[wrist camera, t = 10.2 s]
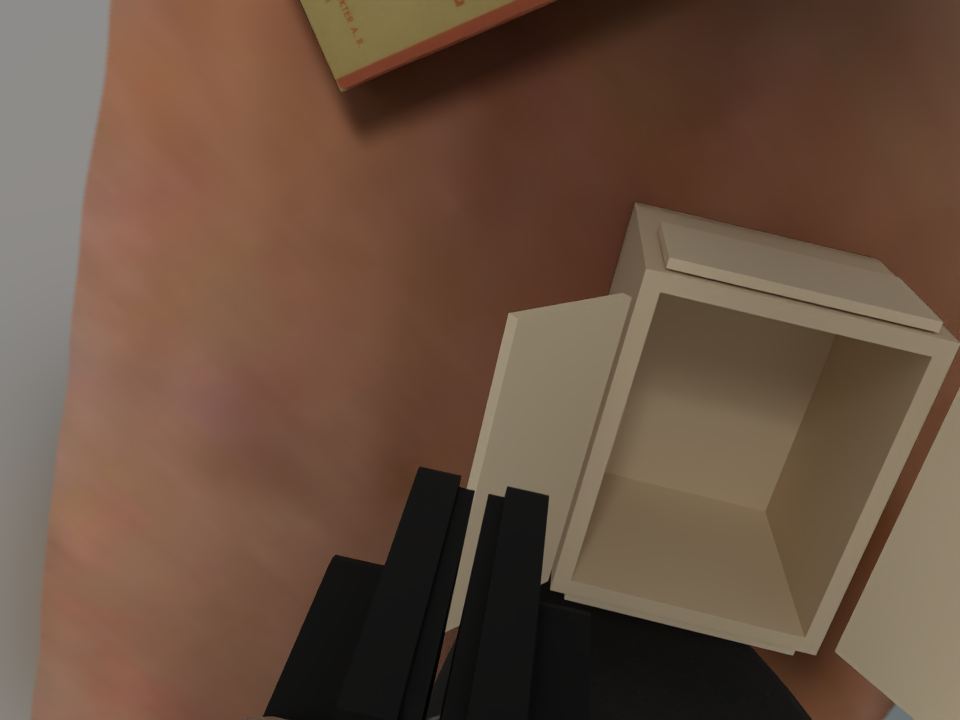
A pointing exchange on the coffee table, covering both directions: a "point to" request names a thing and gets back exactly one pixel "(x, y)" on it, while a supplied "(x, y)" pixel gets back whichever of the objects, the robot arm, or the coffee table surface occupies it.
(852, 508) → the shipping box
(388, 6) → the carton
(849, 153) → the coffee table surface
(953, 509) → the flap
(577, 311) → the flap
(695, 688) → the flower pot
